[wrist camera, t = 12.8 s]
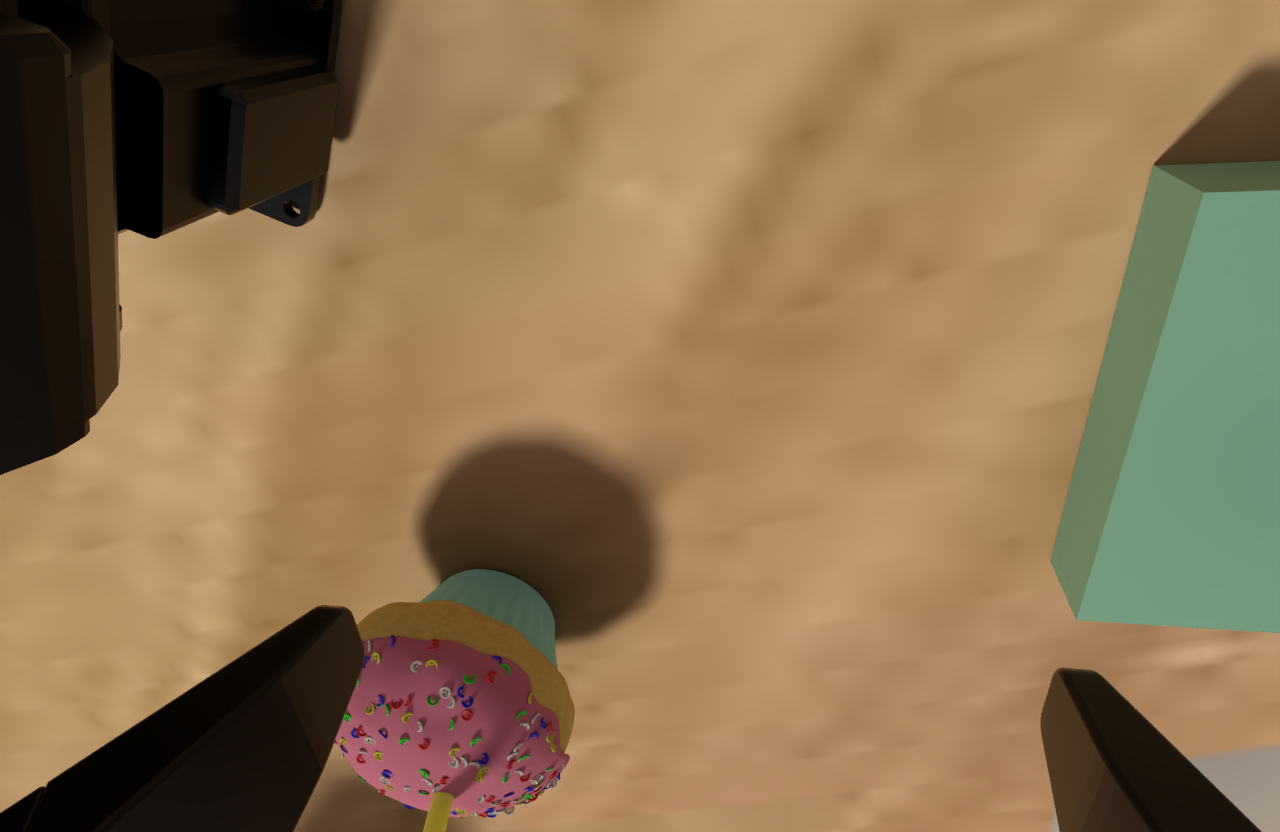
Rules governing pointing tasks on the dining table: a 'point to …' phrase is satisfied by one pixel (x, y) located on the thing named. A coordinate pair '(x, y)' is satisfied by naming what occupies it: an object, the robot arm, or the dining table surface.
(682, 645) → the dining table surface
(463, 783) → the cupcake
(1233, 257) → the coupler stand
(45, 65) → the robot arm
